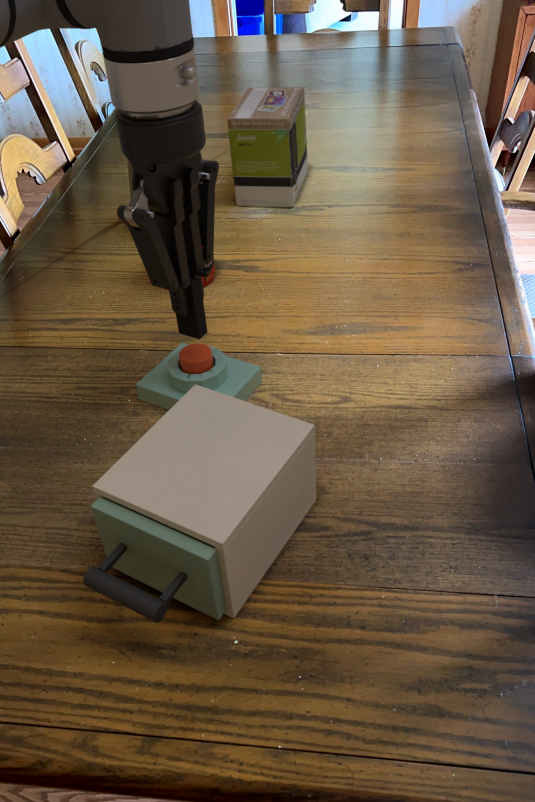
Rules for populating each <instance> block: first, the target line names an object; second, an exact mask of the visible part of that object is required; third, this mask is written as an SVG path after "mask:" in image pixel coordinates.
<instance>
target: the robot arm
mask: <svg viewBox="0 0 535 802" xmlns="http://www.w3.org/2000/svg"><path fill="white" fill-rule="evenodd" d="M60 29H61V30H62V29H64V30H65V29H66V30H67V29H68V30H69V29H70V30H71V29H75V30H77V29H80V30H91V29H96V31H97V35H98V39H99V43H100V46H101V52H102V58H103V62H104V67H105V73H106V74H105V75H106V79H107V84H108V90H109V95H110V101H111V104H112V107H114V108H115V109H116V110H117V111H116V113H115V115H114V119H115V124H116V125H115V126H116V129H117V134H118V139H119V145H120V149H121V152H122V155H124V157H125V158H126V160H127V159H128V160H129V162H130V163H131V165H132V168H133V176H132V188H133V190H134V194H133V196H132V198H131V197H130V200H129V203H128V204H127V205H126V204H120V205H119V206H118V207H117V210H116V216H117V217H118V219H119V220H120V221H121V222H122V223H123V224H124V225H125V226H126V227H127V228H128V231H129V233H130V236H131V239H132V241H133V242H134V246H135V247H136V250H137V252H138V255H139V257H140V260H141V262H142V264H143V267H144V269H145V272H146V275H147V276H148V279H149V282H150V284H151V285H152V287H156V288H160V289H164V290H166V291H168V294H169V299H170V304H171V310H172V311H173V313H174V314H175V318H176V325H177V331H178V334H180V335H183V336H187V337H189V338H193V339H196V340H201V339H202V338H203V337H204V336H206V335H207V334H208V332H209V331H208V325H207V318H206V311H205V303H204V299H205V291H204V290H205V289H204V287H203V282H202V277H206V278H207V277H208V276H209V275H210V272H211V269H209V268H205V267H204V265H205V263H206V262H211V261H212V259H213V255H214V253H215V252H214V251H215V250H214V249H215V208H216V207H215V205H216V184H217V180H218V175H219V171H220V170H219V169H220V164H219V162H218V161H216V160H210V159H205V158H203V156H202V150H203V149H204V148H205V146H206V142H207V137H206V128H205V121H204V120H205V119H204V111H203V105H202V104H201V103H199V101H198V98H199V97H200V95H201V91H200V83H199V75H198V68H197V60H196V59H197V58H196V52H195V41H194V40H195V38H194V35H193V26H192V15H191V5H190V0H0V49H1V48H3V47H5V46H7V45H9V44H12V43H14V42H16V41H19V40H21V39H23V38H25V37H28V36H29V35H32V34H33V33H35V32H39V31H42V30H60ZM202 246H203V248H202Z"/></svg>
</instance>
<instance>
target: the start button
mask: <svg viewBox="0 0 535 802" xmlns="http://www.w3.org/2000/svg"><path fill="white" fill-rule="evenodd" d="M209 346H210V345H207V344H204V343H191V344H189V345H188V346H185V347H184V348H182V349H181V351H180V352H179V359H180V365H181V369H182V371H183V372H184V373H187V374H202V373H204V372H207V371H210V370H211V369H212V367H213V357H212V350H211V348H210V347H209Z"/></svg>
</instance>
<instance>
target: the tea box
mask: <svg viewBox="0 0 535 802" xmlns="http://www.w3.org/2000/svg"><path fill="white" fill-rule="evenodd" d="M305 95H306V94H305V87H304V86H289V87H284V86H283V87H251V86H250V87H248V88H247V89H246V91H245V92H244V93H243V94H242V97H241V98H240V99H239V101H238V103H236V105H235V106H234V108H233V110H232V111H231V113H230V115H229V116H228V117H227V119H226V120H227V121H226V122H227V132H228V141H229V150H230V151H229V152H230V159H231V170H232V177H233V187H234V196H235V197H234V198H235V204H236V206H237V207H248V208H249V207H252V208H253V207H255V208H256V207H257V208H258V207H259V208H293V207H294V206H295V204H296V201H297V199H298V196H299V194H300V192H301V189H302V187H303V184H304V182H305V179H306V177H307V174H308V171H309V160H308V140H307V117H306V98H305Z"/></svg>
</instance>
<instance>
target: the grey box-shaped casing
mask: <svg viewBox="0 0 535 802" xmlns="http://www.w3.org/2000/svg"><path fill="white" fill-rule="evenodd" d="M316 464H317V463H316V425H315V424H314V423H310V422H308V421H305V420H301V419H299V418H296V417H293V416H289V415H287V414H283V413H281V412H278V411H275V410H272V409H269V408H267V407H263V406H260V405H257V404H254V403H252V402H249V401H246V400H245V401H243V400H240V399H237V398H234V397H231V396H228V395H225V394H222V393H219V392H216V391H213V390H210V389H207V388H204V387H201V386H199V385H194V386H193V387H192V388H191V389H190V390H189V391H188V392H187V393H186V394H185V395H184V396H183V397H182V398H181V399H180V400H179V401H178V402H177V403H176V404H175V405H174V406H173V407H172V408H171V409H170V410H167V412H166V413H165V414H164V415H163V416H161V418H159V420H157V421H156V422H155V423H154V424H153V425H152V426H151V428H149V429H148V430H147V431H146V432H145V433H144V434H143V435H142V436H141V437H140V438H139V439H138V440H137V441H136V442H135V443H134V444H133V445H132V446H131V447H130V448H129V449H128V450H127V451H126V452H125V453H123V455H122V456H121V457H120V458H119V459H118V460H117V461H116V462H114V464H113V465H112V466H111V467H110V468H109V469H108V470H107V471H106V472H105V473H103V474H102V475H101V477H100V478H99V479H98V480H97V481H95V483H94V484H93V485H92V490H93V494H94V497H95V501H96V500H97V499H98V498H99V497H102V498H104V499H106V500H108V501H111V502H113V503H115V504H117V505H119V506H122V505H123V506H125V507H128V508H130V509H132V510H134V511H137V512H139V513H141V514H143V515H146V516H148V517H150V518H152V519H154V520H157V521H159V522H161V523H163V524H166V525H168V526H170V527H172V528H174V529H177V530H179V531H181V532H183V533H186V534H188V535H190V536H192V537H195V538H197V539H199V540H201V541H203V542H206V543H208V544H210V545H212V546H215V549H216V550H217V556H218V562H219V568H220V574H221V580H222V586H223V592H224V598H225V605H226V611H225V612H224V614H223V615H225V616H228V617H230V618H232V619H235V618H236V616H237V615H238V613H239V612H240V611H241V609H242V608H243V606H244V605H245V604H246V602H247V601H248V600H249V598H250V596H251V595H252V593H253V592H254V591H255V589H256V588H257V586H258V585H259V583H260V582H261V581H262V579H263V578H264V576H265V574H266V573H267V571H269V568H270V567H271V566H272V564H273V563H274V562H275V560H276V558H278V556H279V554H280V553H281V552H282V550H283V548H284V547H285V546H286V544H287V543H288V541H290V539H291V537H292V535H293V534H294V533H295V531H296V530H297V528H298V527H299V525H300V524H301V523H302V521H303V520H304V518H305V517H306V515H307V514H308V512H309V511H310V510H311V508H312V506H313V505H314V504H315V503H316V501H317V470H316V469H317V467H316Z"/></svg>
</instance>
